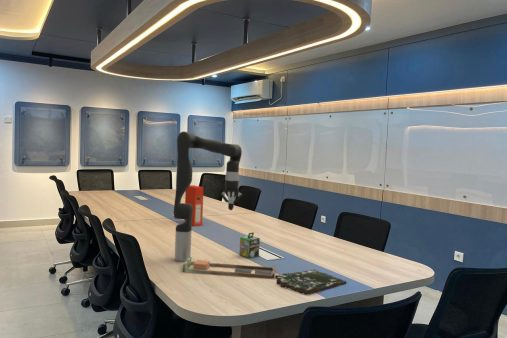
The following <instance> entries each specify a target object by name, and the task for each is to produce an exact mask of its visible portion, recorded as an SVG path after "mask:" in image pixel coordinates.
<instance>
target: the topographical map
mask: <svg viewBox="0 0 507 338" xmlns="http://www.w3.org/2000/svg"><path fill="white" fill-rule="evenodd" d="M274 279H276V283H277V285H279V286H280V287H281V288H285V287H286V288H285V289H287V288H290V289H289V290H291V289H292V290H291V291H293V290H294V292H297V293H298V292H299V293H298V294H303V293H304V294H303V295H306V296H308V295H307V294H309V295H312V294H316V293H318V292H322V291H326V290H328V289H332V288H336V287H338V286H343V285H346V284H347V280H345V279H341V278H339V277H336V276H334V275H331V274H327V273H325V272H322V271H319V270H317V269H310V270H304V271H303V270H301V271H296V272H291V273H289V272H285V273H281V274H275V276H274ZM315 292H316V293H315ZM311 293H312V294H311Z"/></svg>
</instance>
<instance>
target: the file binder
mask: <svg viewBox="0 0 507 338" xmlns="http://www.w3.org/2000/svg"><path fill="white" fill-rule="evenodd" d="M184 195H185V197H184V199H185V200H184V203H185V204H192V206H193V214H192V227H201V226H203V217H204V216H203V215H204V214H203V212H204V211H203V209H204V187H203V186H199V185H193V184H192V185H191V184H190V186H189V187H188V188H187V190H186V191H185V192H184ZM184 222H186V219H184Z"/></svg>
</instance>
